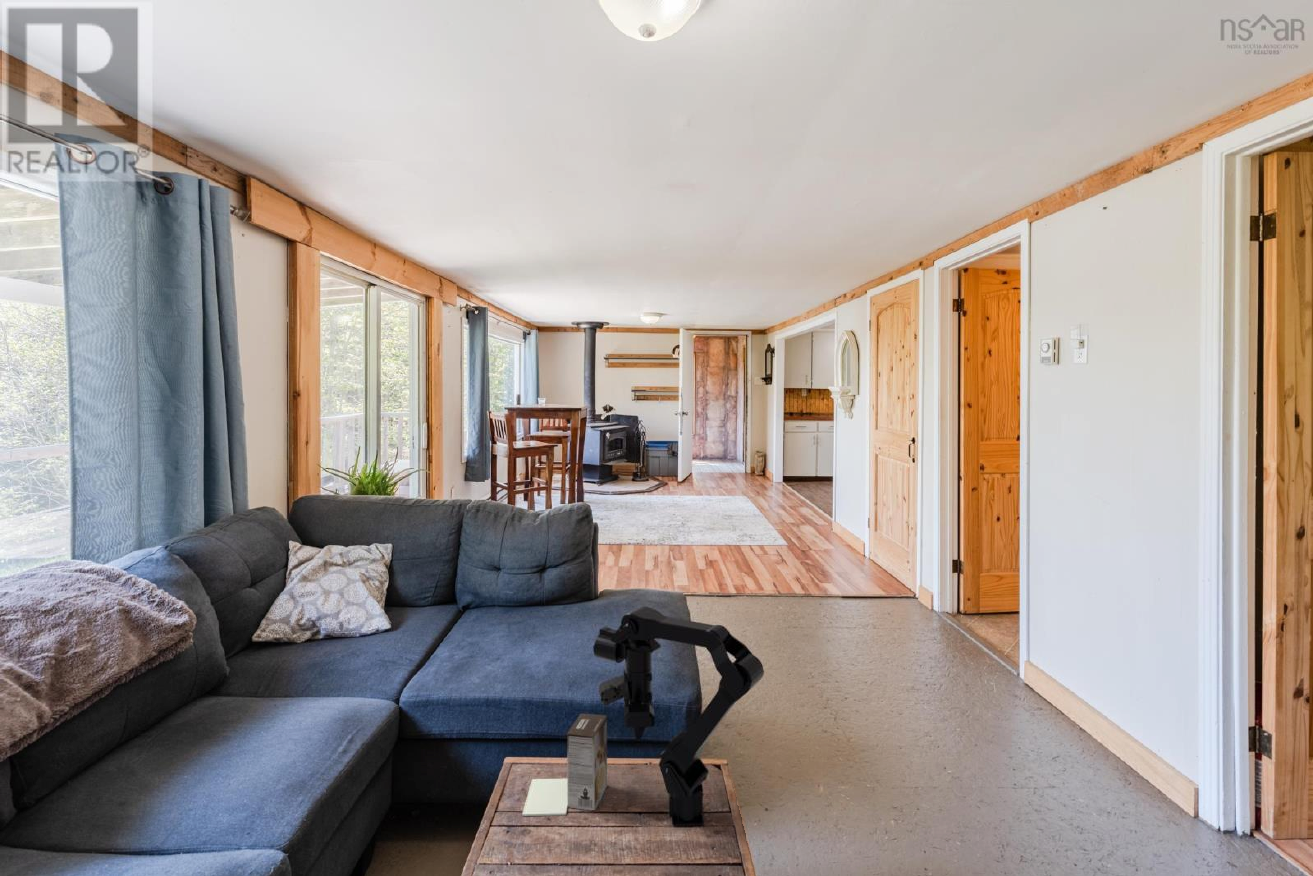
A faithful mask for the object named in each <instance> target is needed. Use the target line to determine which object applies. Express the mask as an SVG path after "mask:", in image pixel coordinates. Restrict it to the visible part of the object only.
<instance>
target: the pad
mask: <svg viewBox="0 0 1313 876" xmlns="http://www.w3.org/2000/svg"><path fill="white" fill-rule="evenodd" d="M567 791H568V788H567V778H532V779H531V782H530V786H529V790H528V792H527V795H526V798H525V799H526V800H525V803H524V807H523V810H522V813H521V816H522V817H541V816H542V817H546V816H548V817H549V816H550V817H551V816H552V817H553V816H567V811H568V798H567V797H568V794H567Z"/></svg>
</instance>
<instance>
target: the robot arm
mask: <svg viewBox="0 0 1313 876" xmlns="http://www.w3.org/2000/svg"><path fill="white" fill-rule="evenodd" d="M620 621H621V622H620V626H619V627H618V629H614V628H613V629H612V628H610V627H608V626H603V627H601V628H600V629H599V630H598V631H599V633H598V635H597V637H596V639H595V641H594V645H593V649H592V650H593V654H594V657H596V658H598V659H602V660H605V661H609V662H614V663H617V664H620V663H622V662H623V661H624V660H625V663H624V664H625V668H624V669H623V675H620V676H615V677H613V678H610V679H608V680H605V681H603V682H601V683H599V685H598V693H599V694H598V695H600V702H602V704H603V706H609V705H610V704H612V703H615V702H617V701H620V700H622V699H623V702H624V708H623V726H624V727H625V728H633V732H634V736H635V737H634V738H635V739H636V740H641V739H642V737H643V735H644V733H645V731H646V728H650V727H651V728H652V727H654V726H655V709H654V707H653V693H652V692H653V691H652V690H653V689H652V685H653V683H652V682H653V671H652V667H653V663H652V660H653V659H652V657H653V655H652V653H654V652H656V651H657V650H659V649H660V648H661V644H660V643H659V642H658V640H657V639H659V640H665V641H669V642H670V641H672V642H675V643H680V644H686V645H691V646H696V647H701V648H705V649H706V650H707V651H708V652H709V654H710V657H711V659H712V662H713V664H714V667H715V670H716V671H717V672H718V674H719V675H720V677H721V678H720V680H719V682H718V687H717V692H716V693H715V695H714V696H713V697H712V699H711V700H710V702H708V705H707V706H706V707H705V709H704V710H703V711H702V712H701V714H700V715H699V717H698V718H697V719H696V721H695V723H693V725H692V726H691V728H690V730H688V732H687V733H686V732H685V730H684V729H682V730H681V731H680V732H679V733H678V734H676V735H675V736H674V738H672V739H671V740H670V741H669V742H668V743H667V745H666V747H665V750H663V751H662V752H661V753H660V754H659V757H660V760H659V763H658V767H659V769H660V772H661V774H662V779H663V782H664V786H665V789H666V793H667V794H668V816H669V817H670V818H671V824H672V826H674V827H680V826H681V827H682V826H684V827H685V826H689V827H690V826H704V825H705V818H704V813H703V812H704V806H703V805H704V804H703V803H704V793H703V792H704V790H703V789H704V788H703V783H704V781H706V780H707V777H708V775H709V769H708V768H707V766H706V765H705V764H704V762H703V760H702V759H701V757H702V754H703V749H704V746H705V744H706V743H707V741H708V740H709V739H710V738H711V736H712V734H713V733H714V732H715V731H716V730H717V728H718V727H719V726H720V724H721V722H722V721H723V720H724V718H726V716H727V715H728V713H730V710H732V708H733V707H734V705H735V704H736V703H737V702H738V701H739V700H741V699H742V697H744V696H745V695H746V694H747V693H749V691H750V690H752V689H753V688H754V687H755V685H757V684H758V682H760V681H761V680H762V679H763V677H764V675H765V670H764V666H763V664H762V661H761V660H760V659H759V657H757V656H755V655H754V654H753V653H752V652H751V650H750V649H749V648H748V646H747V645H746V644H744V643H743V641H740V640H739V639H738V638H736V636H733V634H731V632H730V631H729V630H728V628H726V627H725V626H724V625H721V624H709V623H703V622H697V621H692V620H686V619H682V618H674V617H669V616H667V615H664V614H662V612H660V611H659V610H657V609H654V608H652V607H649V606H642V605H641V606H640V607H638V608H635V609H633V610H631V611H630V612H627V613H625V614H624V615H623V616H622V618H621V620H620ZM729 654H730V655H731V656H732V657H734V658H735V660H734V661H732V660H731V659H730V657H729Z"/></svg>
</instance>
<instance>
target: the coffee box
mask: <svg viewBox="0 0 1313 876" xmlns="http://www.w3.org/2000/svg"><path fill="white" fill-rule="evenodd" d="M566 740H567V741H566V743H567V744H566V745H567V746H566V747H567V749H566V750H567V753H566V755H567V758H566V759H567V760H566V762H567V766H566V767H567V770H566V771H567V772H566V773H567V777H566V779H567V788H568V791H567V794H568V797H567V798H568V806H567V808H571V809H578V810H585V811H592V810H595V811H596V810H597V808H598V806H599V803H600V802H599V801H601V800H602V797H603V796H604V793H605V791H606V789H607V787H608V716H607V715H602V714H593V713H589V714H588V713H580V714H579V715H578V717H577V718H576V720H575V721H574V723H573V724H572V726H571V727H570V728H569V730H568V731H567V733H566Z"/></svg>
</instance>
